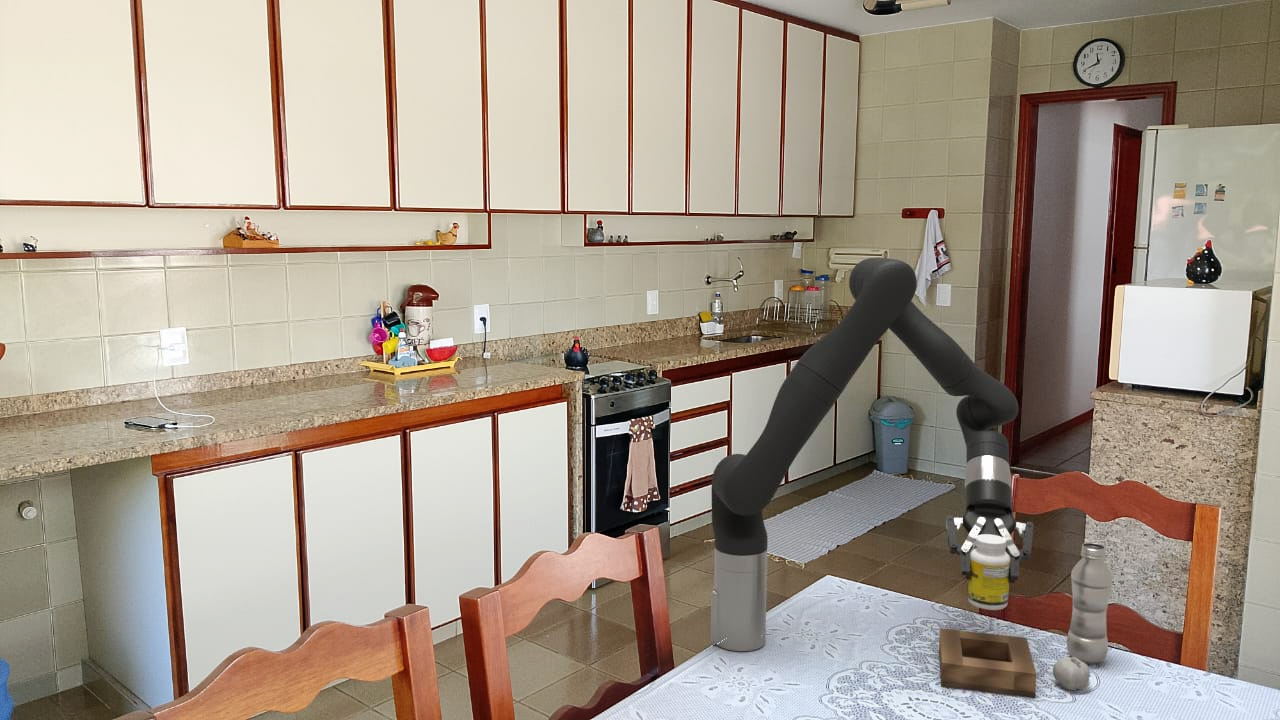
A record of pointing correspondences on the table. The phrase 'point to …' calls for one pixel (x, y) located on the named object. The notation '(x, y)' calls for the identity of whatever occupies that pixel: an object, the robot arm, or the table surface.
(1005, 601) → the pill bottle
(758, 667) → the table surface
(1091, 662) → the plastic bottle
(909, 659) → the table surface
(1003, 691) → the wooden square tray
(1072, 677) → the garlic
